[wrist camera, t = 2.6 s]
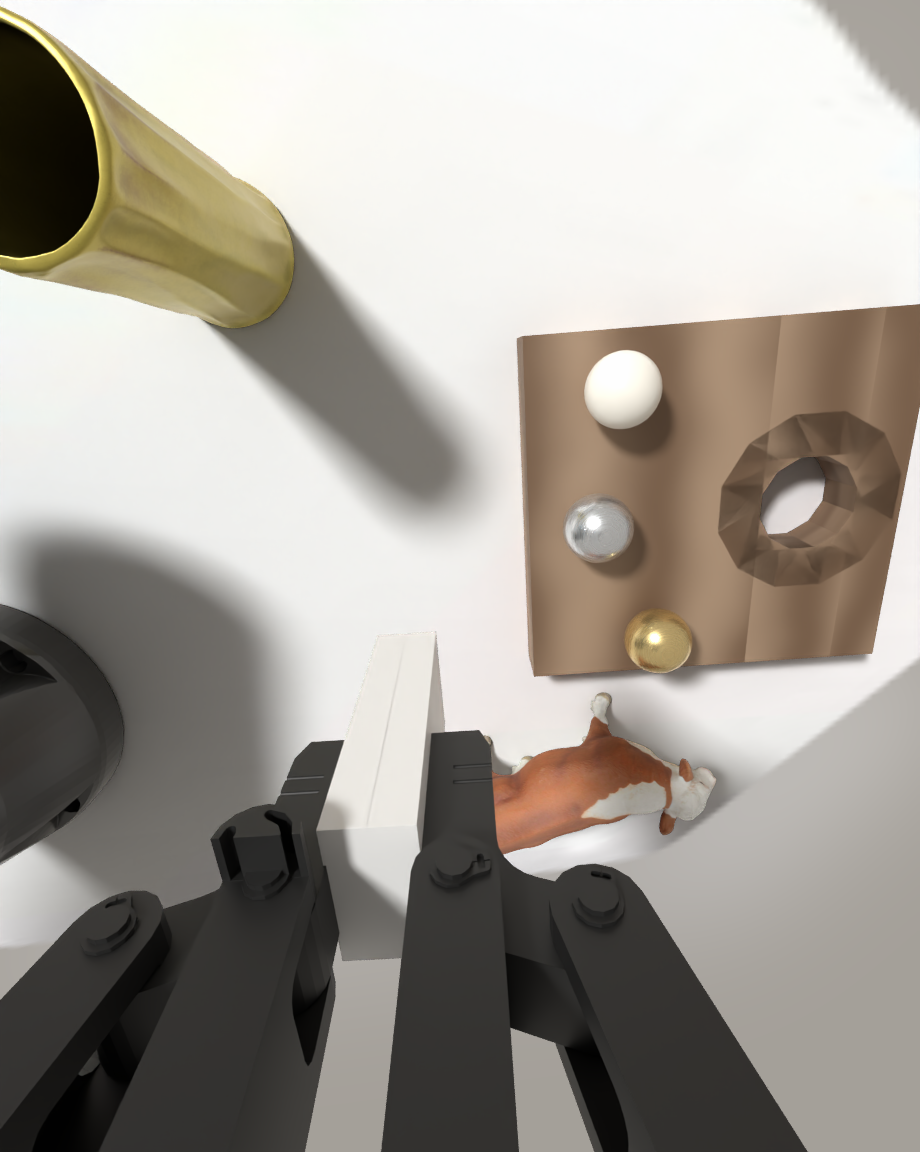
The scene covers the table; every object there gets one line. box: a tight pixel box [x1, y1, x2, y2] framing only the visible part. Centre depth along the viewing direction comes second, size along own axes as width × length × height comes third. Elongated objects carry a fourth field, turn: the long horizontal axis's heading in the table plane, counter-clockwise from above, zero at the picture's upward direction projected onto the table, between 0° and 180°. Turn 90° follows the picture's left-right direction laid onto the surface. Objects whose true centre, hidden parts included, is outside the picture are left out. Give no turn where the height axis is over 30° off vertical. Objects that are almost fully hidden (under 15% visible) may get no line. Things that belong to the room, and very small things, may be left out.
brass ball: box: [624, 608, 692, 673], centre depth 29 cm, size 3×3×3 cm
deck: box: [517, 304, 920, 677], centre depth 29 cm, size 18×17×2 cm
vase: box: [0, 7, 294, 328], centre depth 20 cm, size 6×6×14 cm
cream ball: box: [584, 350, 662, 429], centre depth 25 cm, size 3×3×3 cm
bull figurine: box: [484, 693, 716, 854], centre depth 32 cm, size 4×13×8 cm, turn 108°
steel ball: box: [563, 493, 634, 563], centre depth 27 cm, size 3×3×3 cm
